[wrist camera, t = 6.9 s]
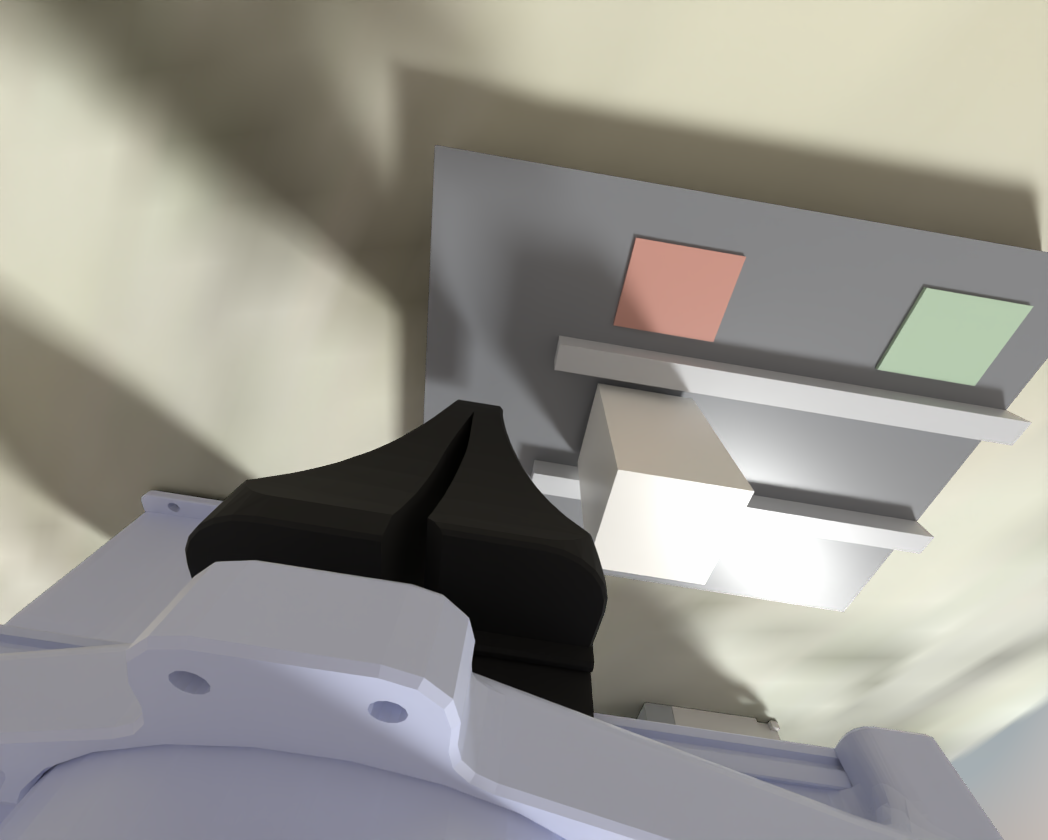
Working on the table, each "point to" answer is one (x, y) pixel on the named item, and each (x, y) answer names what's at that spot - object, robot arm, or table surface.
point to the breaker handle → (657, 485)
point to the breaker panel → (734, 350)
